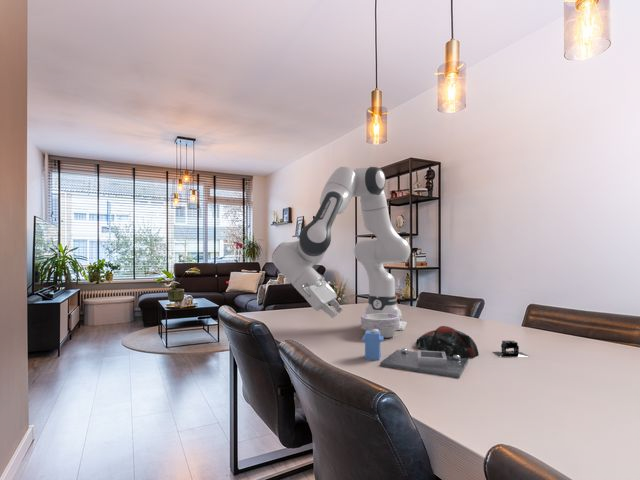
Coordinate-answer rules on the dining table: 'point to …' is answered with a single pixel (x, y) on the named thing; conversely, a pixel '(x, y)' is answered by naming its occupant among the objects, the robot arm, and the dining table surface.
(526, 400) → the dining table surface
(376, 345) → the block
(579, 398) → the dining table surface
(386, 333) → the paper bowls
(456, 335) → the drone shell
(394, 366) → the plate
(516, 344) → the black block with base
